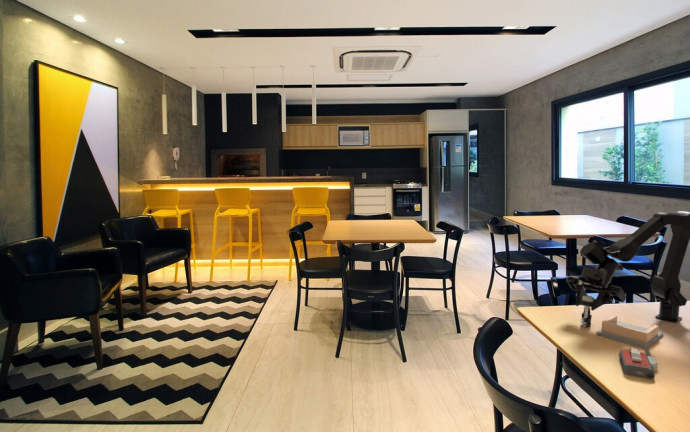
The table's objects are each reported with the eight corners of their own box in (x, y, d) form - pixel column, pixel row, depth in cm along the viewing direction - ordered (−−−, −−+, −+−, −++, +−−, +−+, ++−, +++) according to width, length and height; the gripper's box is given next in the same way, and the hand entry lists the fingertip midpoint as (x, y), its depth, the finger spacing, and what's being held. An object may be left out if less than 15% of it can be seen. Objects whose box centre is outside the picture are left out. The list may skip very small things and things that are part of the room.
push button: (592, 329, 145) (595, 301, 144) (575, 326, 149) (577, 298, 147) (595, 324, 151) (598, 296, 149) (578, 320, 154) (581, 293, 152)
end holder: (615, 323, 151) (616, 312, 151) (663, 335, 140) (664, 323, 139) (596, 334, 141) (597, 322, 141) (645, 348, 130) (646, 335, 130)
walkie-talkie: (663, 384, 110) (650, 354, 127) (664, 368, 109) (651, 339, 127) (623, 377, 114) (616, 348, 131) (624, 361, 113) (616, 334, 131)
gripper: (570, 254, 157) (550, 287, 153) (623, 264, 141) (602, 301, 137) (581, 272, 162) (562, 305, 158) (634, 283, 146) (614, 320, 141)
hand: (584, 307), depth 148 cm, fingers closed on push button, 5 cm apart
